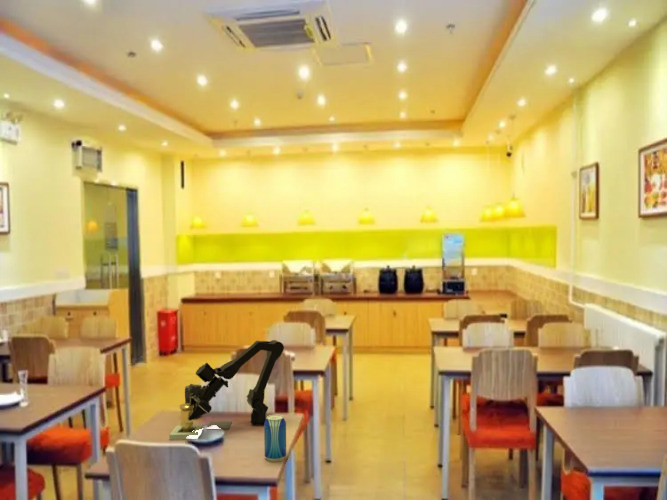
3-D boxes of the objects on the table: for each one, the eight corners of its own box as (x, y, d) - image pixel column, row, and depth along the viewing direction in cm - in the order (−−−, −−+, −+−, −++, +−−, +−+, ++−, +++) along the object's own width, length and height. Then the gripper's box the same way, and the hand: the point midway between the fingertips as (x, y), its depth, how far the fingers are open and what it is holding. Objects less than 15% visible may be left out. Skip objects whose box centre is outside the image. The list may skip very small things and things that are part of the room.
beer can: (265, 454, 216) (264, 414, 215) (286, 453, 216) (285, 413, 216) (264, 462, 207) (263, 420, 207) (286, 461, 208) (285, 420, 208)
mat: (232, 422, 255) (232, 421, 255) (228, 429, 245) (228, 428, 245) (210, 422, 255) (210, 421, 255) (206, 429, 245) (206, 428, 245)
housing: (203, 430, 245) (203, 425, 245) (197, 439, 233) (197, 434, 233) (177, 430, 245) (176, 425, 245) (169, 439, 233) (169, 434, 233)
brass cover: (195, 432, 242) (195, 403, 242) (192, 437, 236) (192, 407, 236) (182, 432, 242) (181, 403, 242) (178, 437, 236) (178, 407, 236)
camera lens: (204, 414, 267) (204, 384, 267) (198, 419, 259) (198, 388, 259) (188, 414, 268) (188, 383, 268) (182, 419, 260) (182, 388, 260)
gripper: (194, 373, 249) (169, 400, 245) (203, 382, 233) (177, 411, 228) (211, 388, 253) (187, 415, 248) (222, 398, 236) (196, 427, 231)
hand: (187, 416), depth 239 cm, fingers open, 9 cm apart
